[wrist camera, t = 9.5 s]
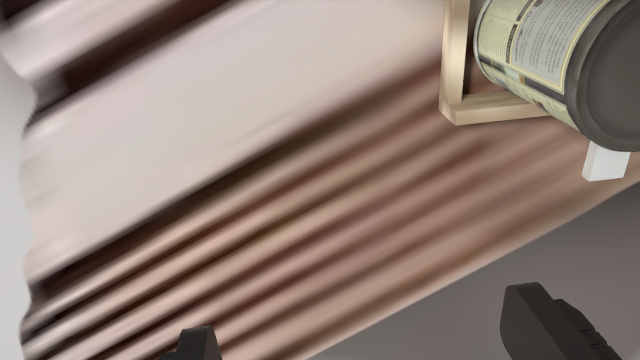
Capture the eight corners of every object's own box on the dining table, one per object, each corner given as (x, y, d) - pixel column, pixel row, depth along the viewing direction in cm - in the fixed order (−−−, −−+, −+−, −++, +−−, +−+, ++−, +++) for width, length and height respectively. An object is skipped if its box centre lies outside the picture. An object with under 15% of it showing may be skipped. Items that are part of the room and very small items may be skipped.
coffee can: (610, -29, 35) (796, -17, 23) (561, 94, 40) (693, 159, 27) (493, -48, 33) (625, -47, 21) (456, 82, 38) (546, 146, 26)
